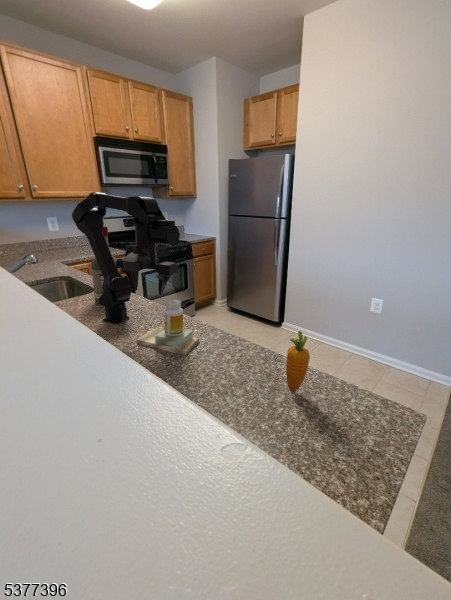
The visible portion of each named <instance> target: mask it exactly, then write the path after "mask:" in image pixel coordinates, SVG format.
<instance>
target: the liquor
mask: <svg viewBox="0 0 451 600" xmlns="http://www.w3.org/2000/svg"><path fill="white" fill-rule="evenodd" d="M102 232H103V235H104V238H105V240H106V242H107V245H108V246H109V237H108V236H109V229H108V226H106V225H105V226H103V231H102ZM111 255H112V257H113V260H114V262H115V265H116V261H117V259H118V258H116V256H115V255H114V254H112V253H111ZM90 266H91V274H92V282H93V284H92V285H93V292H94V293H93V294H94V302H95V303H94V304H96V305H97V306H100V307H101V306H102V305H100V303H99V298H100V297H101V295H102V294H103V293H104V291H103V288H102V285H103V280H104V277H103V274H102V272H101V270H100V267H99V265H98V262H97V260H96V257H94V258H93V261H92V262H91V265H90ZM117 270H118V272H119V273H120V268H117ZM102 307H103V306H102Z"/></svg>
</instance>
